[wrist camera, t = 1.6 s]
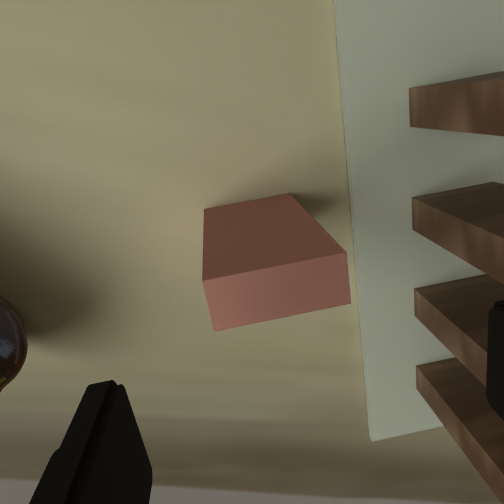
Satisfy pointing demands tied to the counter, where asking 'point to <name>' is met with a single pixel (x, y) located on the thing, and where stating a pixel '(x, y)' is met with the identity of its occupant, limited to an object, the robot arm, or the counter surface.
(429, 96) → the domino
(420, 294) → the domino
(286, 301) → the domino
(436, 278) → the mat
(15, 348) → the tin
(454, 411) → the domino
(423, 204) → the domino
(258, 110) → the counter surface
